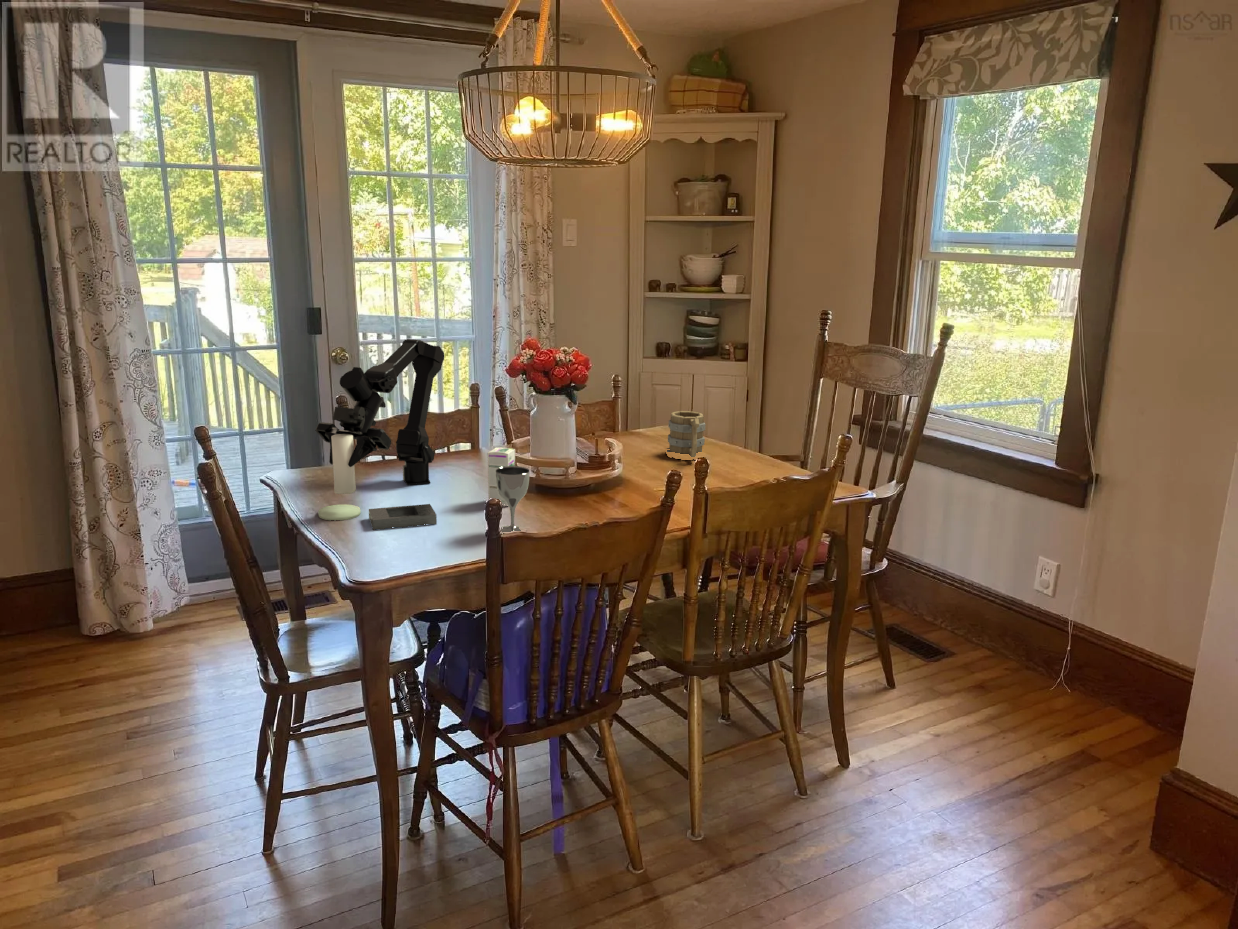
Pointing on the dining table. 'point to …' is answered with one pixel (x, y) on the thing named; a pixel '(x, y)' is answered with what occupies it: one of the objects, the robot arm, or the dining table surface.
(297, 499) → the dining table surface
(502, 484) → the wine glass
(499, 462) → the syrup box
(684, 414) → the tankard
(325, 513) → the sage mat
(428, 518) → the dark grey peg holder
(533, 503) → the dining table surface
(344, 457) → the cream round peg
